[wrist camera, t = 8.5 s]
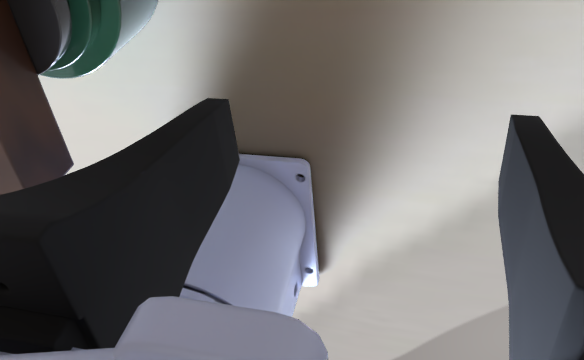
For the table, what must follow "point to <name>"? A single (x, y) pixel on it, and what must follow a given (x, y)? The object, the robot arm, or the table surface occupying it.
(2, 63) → the stick
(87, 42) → the green round jar
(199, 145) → the robot arm
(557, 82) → the table surface
